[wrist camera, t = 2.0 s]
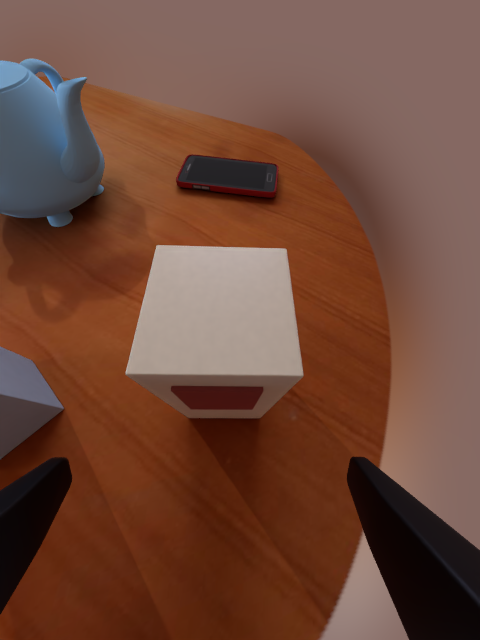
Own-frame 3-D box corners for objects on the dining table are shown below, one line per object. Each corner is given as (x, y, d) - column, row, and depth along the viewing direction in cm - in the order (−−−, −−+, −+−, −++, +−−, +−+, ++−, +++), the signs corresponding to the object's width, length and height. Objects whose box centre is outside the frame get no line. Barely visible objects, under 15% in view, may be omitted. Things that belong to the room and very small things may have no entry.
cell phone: (275, 199, 33) (276, 193, 32) (175, 188, 34) (173, 181, 33) (278, 170, 37) (279, 164, 36) (188, 160, 38) (187, 153, 37)
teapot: (-14, 177, 34) (-154, 22, 21) (124, 156, 38) (73, 16, 25) (-32, 255, 26) (-258, 89, 14) (141, 220, 30) (81, 66, 18)
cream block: (260, 420, 19) (304, 382, 8) (187, 420, 19) (122, 381, 8) (257, 350, 22) (286, 248, 11) (194, 349, 22) (156, 244, 10)
